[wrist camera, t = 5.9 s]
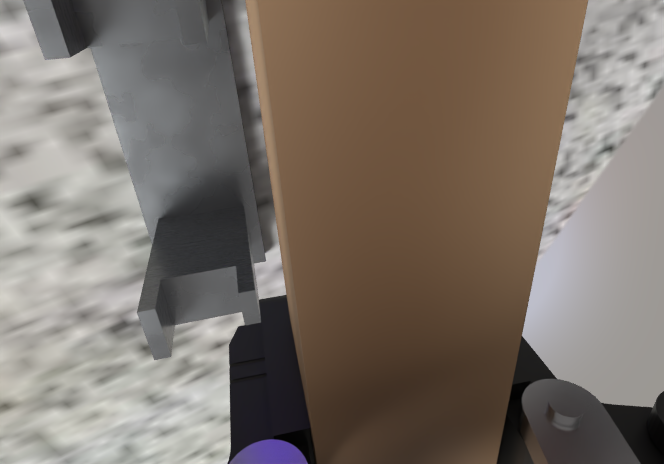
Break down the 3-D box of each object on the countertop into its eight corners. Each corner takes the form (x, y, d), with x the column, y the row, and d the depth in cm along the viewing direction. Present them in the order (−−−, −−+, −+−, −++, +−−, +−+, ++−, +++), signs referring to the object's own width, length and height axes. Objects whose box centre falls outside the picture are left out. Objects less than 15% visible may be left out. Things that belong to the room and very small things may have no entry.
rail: (470, -335, 5) (712, -631, 3) (415, 559, 15) (453, 677, 13) (197, -342, 5) (166, -704, 2) (327, 582, 15) (348, 709, 12)
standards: (207, -81, 23) (203, -115, 14) (264, 253, 33) (283, 355, 24) (58, -71, 22) (-46, -102, 13) (164, 271, 32) (145, 385, 23)
